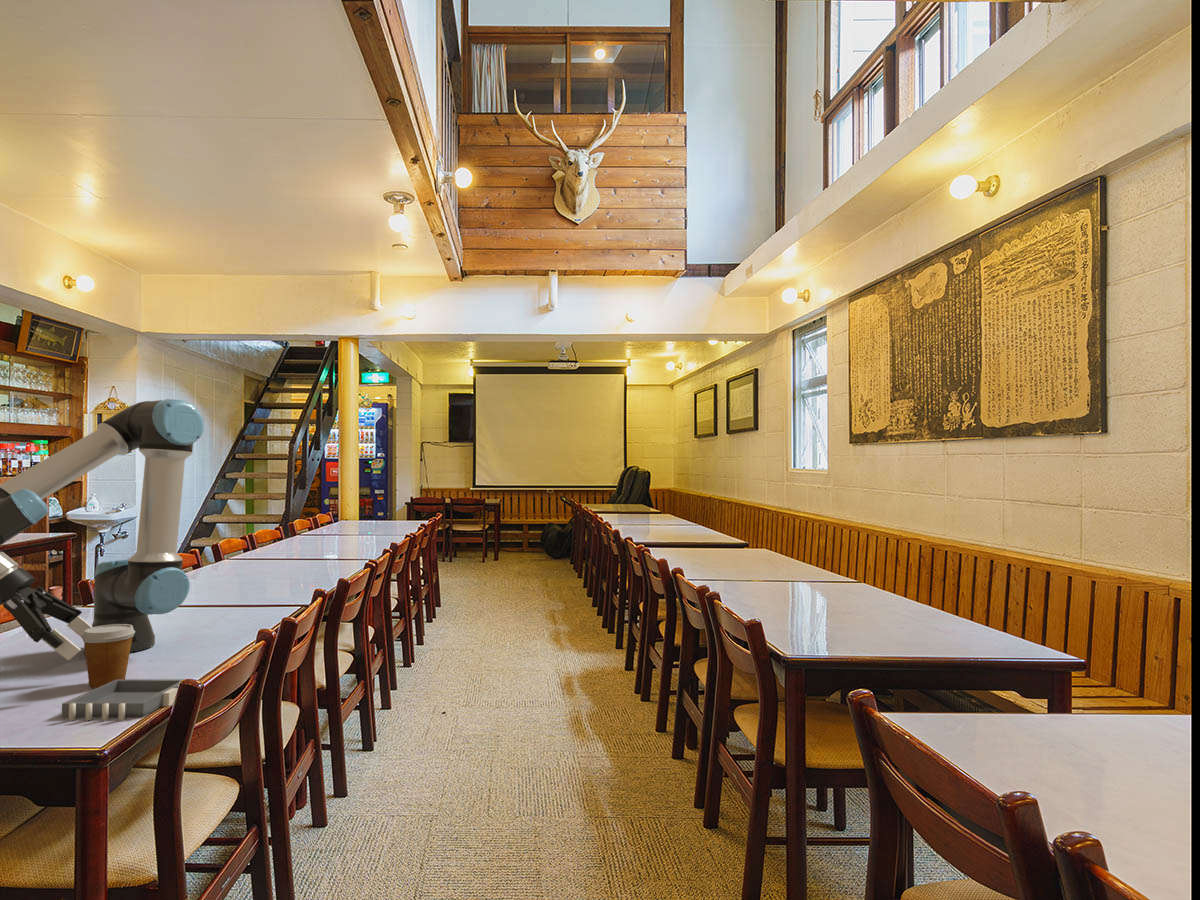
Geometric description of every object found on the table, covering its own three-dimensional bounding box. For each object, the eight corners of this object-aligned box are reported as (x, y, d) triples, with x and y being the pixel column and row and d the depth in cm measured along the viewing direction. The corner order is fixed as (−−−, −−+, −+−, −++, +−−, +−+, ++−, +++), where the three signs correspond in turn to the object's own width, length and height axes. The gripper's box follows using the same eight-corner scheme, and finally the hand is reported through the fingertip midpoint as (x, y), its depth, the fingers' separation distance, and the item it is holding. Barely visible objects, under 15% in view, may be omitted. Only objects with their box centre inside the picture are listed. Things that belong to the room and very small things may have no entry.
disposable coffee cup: (98, 677, 152) (100, 623, 153) (143, 677, 153) (144, 623, 154) (68, 691, 143) (70, 633, 143) (116, 690, 144) (118, 633, 144)
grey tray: (115, 691, 143) (116, 677, 143) (194, 691, 143) (194, 677, 143) (53, 721, 126) (53, 704, 126) (142, 721, 126) (143, 704, 126)
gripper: (12, 584, 152) (90, 646, 157) (-47, 603, 129) (47, 677, 133) (43, 559, 154) (118, 622, 159) (-10, 574, 131) (81, 647, 136)
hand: (86, 647), depth 146 cm, fingers open, 13 cm apart
